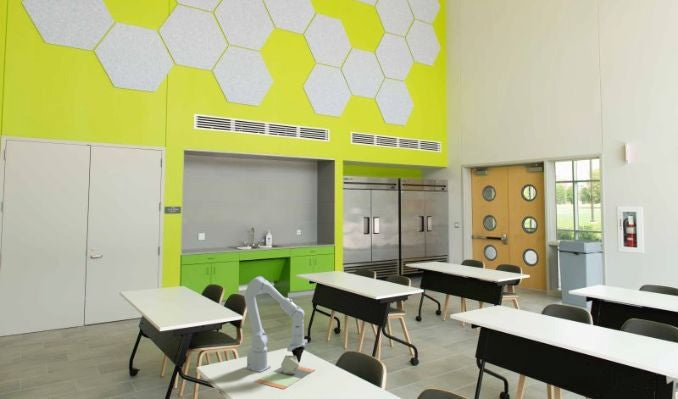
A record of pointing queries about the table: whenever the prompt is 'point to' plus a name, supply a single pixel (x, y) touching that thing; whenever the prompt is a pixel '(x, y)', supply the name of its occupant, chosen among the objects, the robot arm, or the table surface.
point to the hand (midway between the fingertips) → (297, 362)
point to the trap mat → (283, 377)
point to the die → (290, 364)
